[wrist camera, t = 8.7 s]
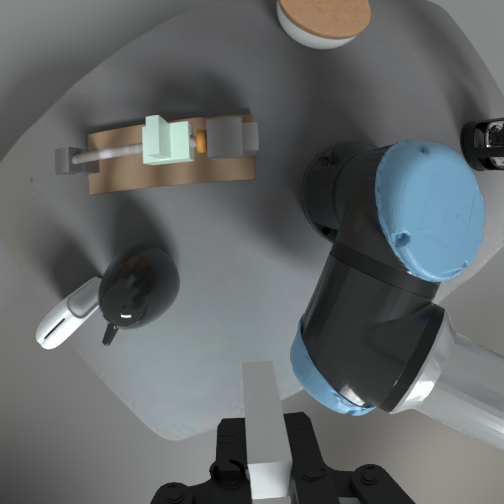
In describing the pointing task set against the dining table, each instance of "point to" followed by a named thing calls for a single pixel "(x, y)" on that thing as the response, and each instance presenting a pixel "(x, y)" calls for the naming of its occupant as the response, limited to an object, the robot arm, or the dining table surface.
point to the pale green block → (166, 141)
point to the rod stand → (144, 175)
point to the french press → (495, 141)
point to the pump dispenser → (137, 288)
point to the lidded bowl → (323, 21)
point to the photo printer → (68, 314)
